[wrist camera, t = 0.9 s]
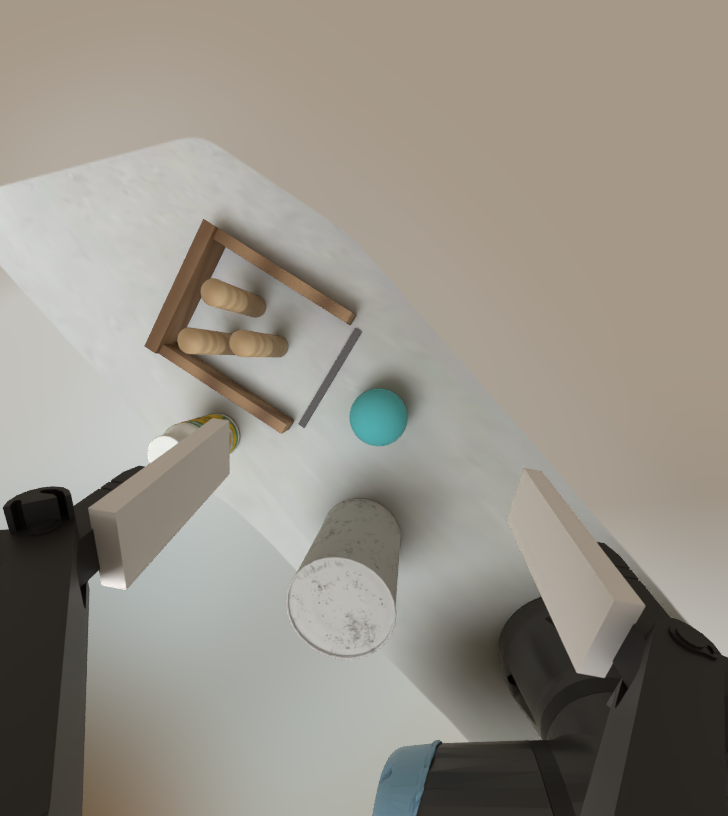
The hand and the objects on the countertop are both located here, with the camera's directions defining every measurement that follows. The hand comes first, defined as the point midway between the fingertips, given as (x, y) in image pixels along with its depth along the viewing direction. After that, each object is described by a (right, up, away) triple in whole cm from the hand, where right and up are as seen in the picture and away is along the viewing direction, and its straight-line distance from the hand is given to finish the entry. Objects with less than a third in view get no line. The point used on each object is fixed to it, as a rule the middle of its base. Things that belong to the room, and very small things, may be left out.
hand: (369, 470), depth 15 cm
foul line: (-4, +6, +24) cm, 25 cm away
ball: (+1, +2, +21) cm, 21 cm away
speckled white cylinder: (-1, -13, +26) cm, 29 cm away
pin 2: (-15, +10, +25) cm, 31 cm away
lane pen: (-13, +11, +24) cm, 30 cm away
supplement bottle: (-18, 0, +27) cm, 32 cm away
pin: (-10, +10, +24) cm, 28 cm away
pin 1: (-13, +14, +24) cm, 30 cm away
